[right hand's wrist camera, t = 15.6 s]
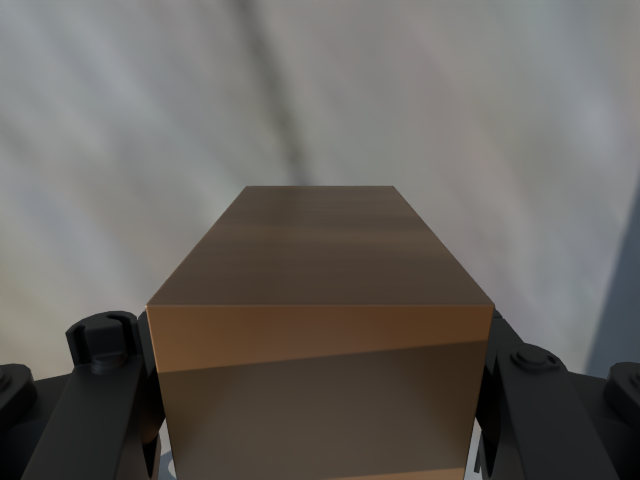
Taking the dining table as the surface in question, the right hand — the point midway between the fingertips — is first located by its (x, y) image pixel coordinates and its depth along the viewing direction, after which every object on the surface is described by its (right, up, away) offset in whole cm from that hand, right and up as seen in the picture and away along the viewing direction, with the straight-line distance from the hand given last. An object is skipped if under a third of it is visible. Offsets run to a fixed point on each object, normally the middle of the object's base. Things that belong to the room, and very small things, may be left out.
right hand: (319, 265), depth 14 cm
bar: (0, -8, +4) cm, 9 cm away
